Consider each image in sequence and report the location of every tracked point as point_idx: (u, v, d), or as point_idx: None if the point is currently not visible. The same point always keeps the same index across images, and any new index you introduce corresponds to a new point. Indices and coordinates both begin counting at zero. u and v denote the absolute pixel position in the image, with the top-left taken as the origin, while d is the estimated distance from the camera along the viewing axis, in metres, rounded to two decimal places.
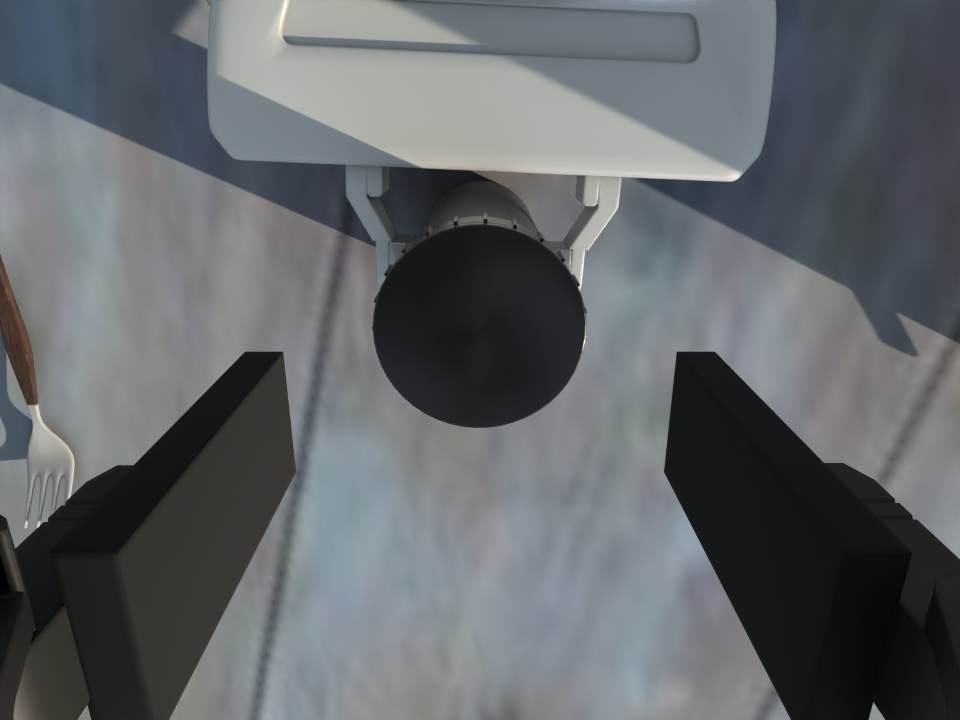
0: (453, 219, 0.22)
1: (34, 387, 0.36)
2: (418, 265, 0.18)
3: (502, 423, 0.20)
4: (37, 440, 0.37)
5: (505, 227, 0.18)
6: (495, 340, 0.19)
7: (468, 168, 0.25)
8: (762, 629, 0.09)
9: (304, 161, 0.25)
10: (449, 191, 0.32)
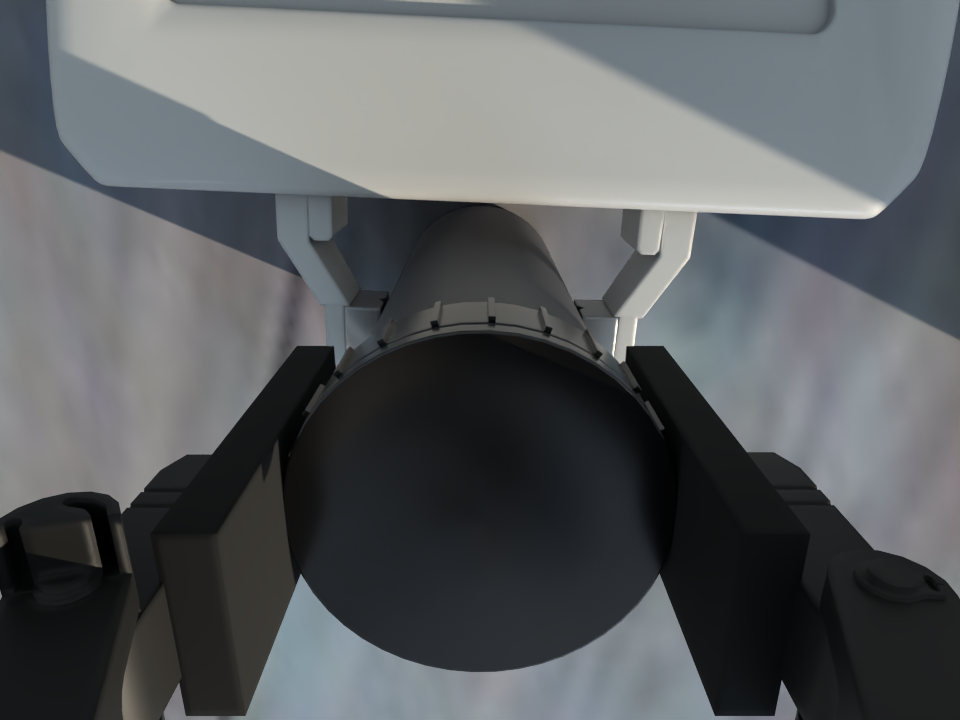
0: (436, 291, 0.13)
1: None
2: (363, 405, 0.10)
3: (520, 665, 0.11)
4: None
5: (530, 335, 0.09)
6: (509, 533, 0.10)
7: (463, 199, 0.16)
8: (687, 613, 0.10)
9: (208, 188, 0.16)
10: (438, 221, 0.23)
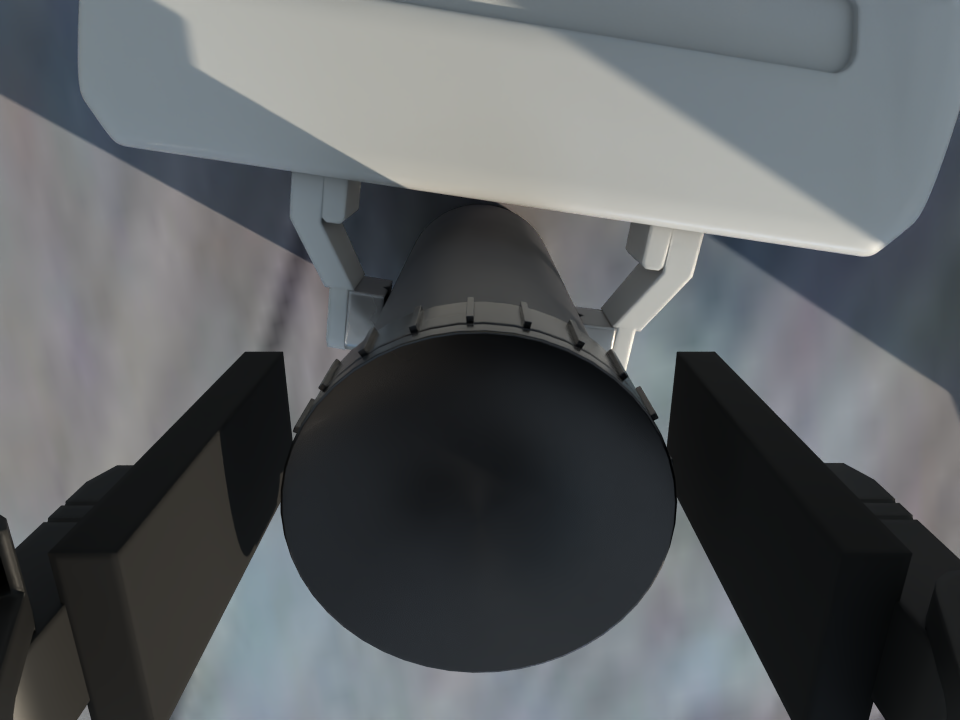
0: (449, 284, 0.13)
1: None
2: (326, 565, 0.11)
3: (666, 543, 0.10)
4: None
5: (308, 413, 0.10)
6: (505, 501, 0.10)
7: (478, 197, 0.16)
8: (762, 630, 0.09)
9: (226, 159, 0.16)
10: (444, 215, 0.24)
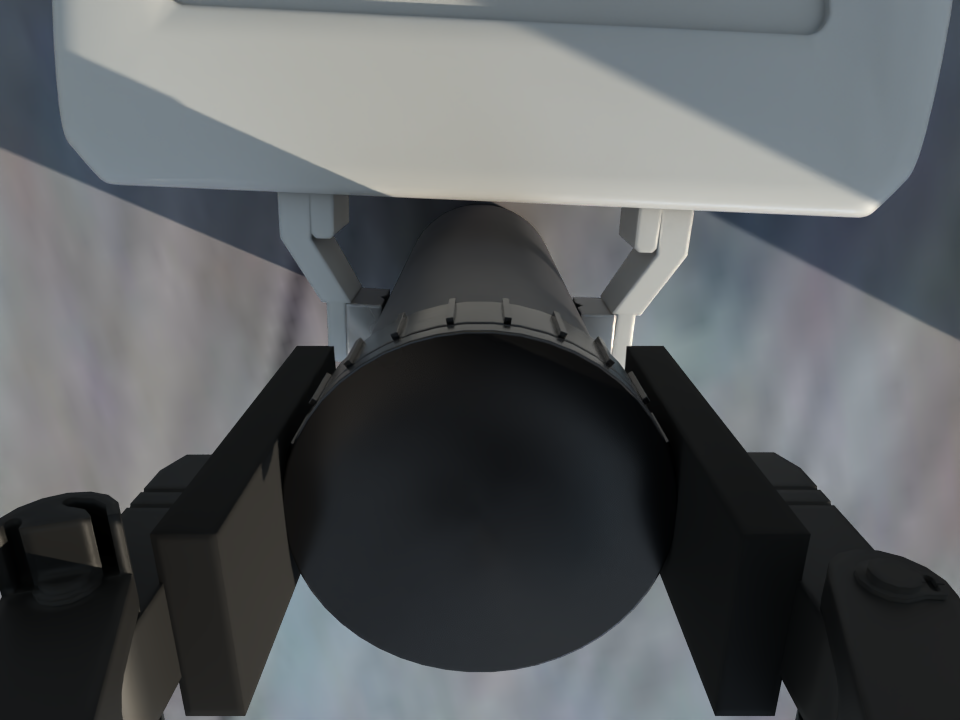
0: (437, 288, 0.13)
1: None
2: (335, 577, 0.11)
3: (671, 526, 0.10)
4: None
5: (300, 429, 0.10)
6: (504, 498, 0.10)
7: (463, 197, 0.16)
8: (687, 613, 0.10)
9: (212, 187, 0.16)
10: (439, 219, 0.24)
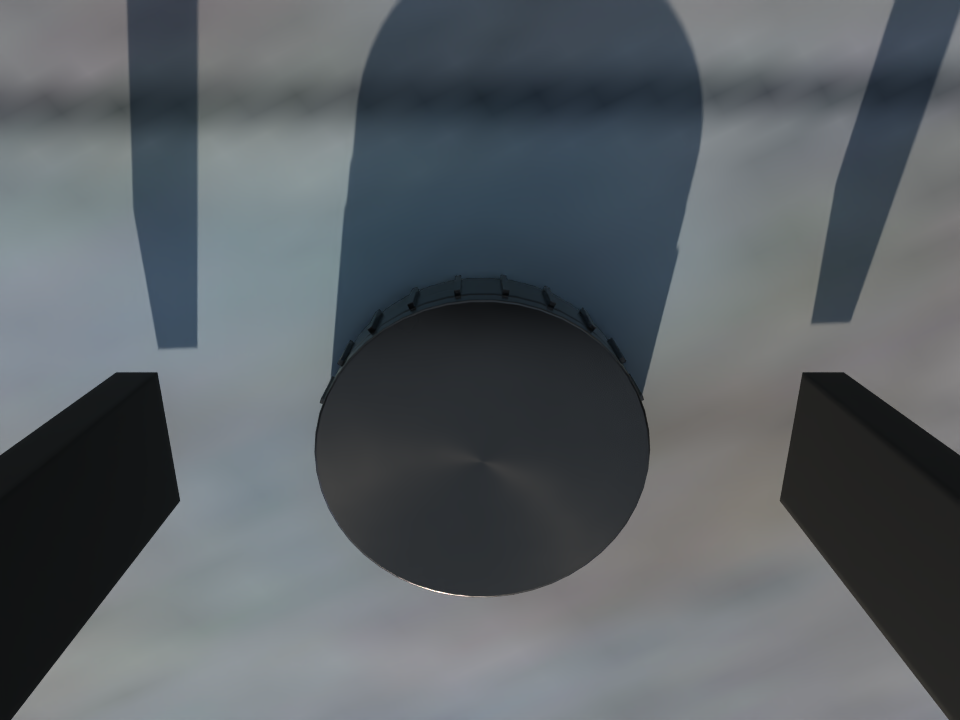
0: None
1: None
2: (359, 513, 0.12)
3: (644, 467, 0.12)
4: None
5: (331, 384, 0.12)
6: (503, 443, 0.12)
7: None
8: None
9: None
10: None
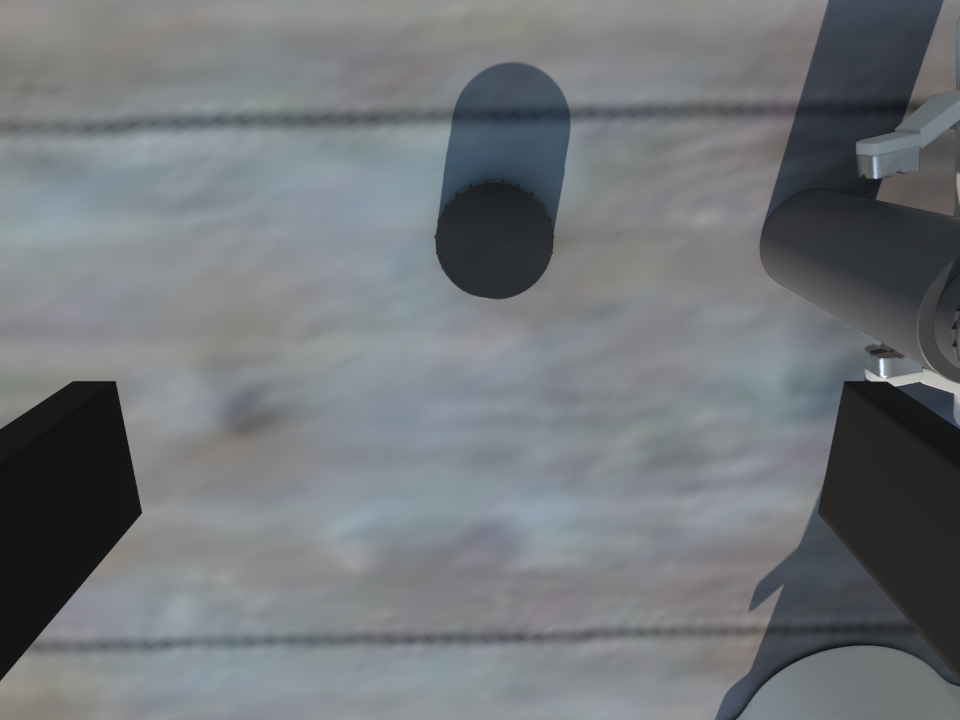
0: None
1: None
2: (450, 263, 0.35)
3: (551, 245, 0.34)
4: None
5: (443, 213, 0.34)
6: (501, 235, 0.34)
7: None
8: None
9: None
10: None
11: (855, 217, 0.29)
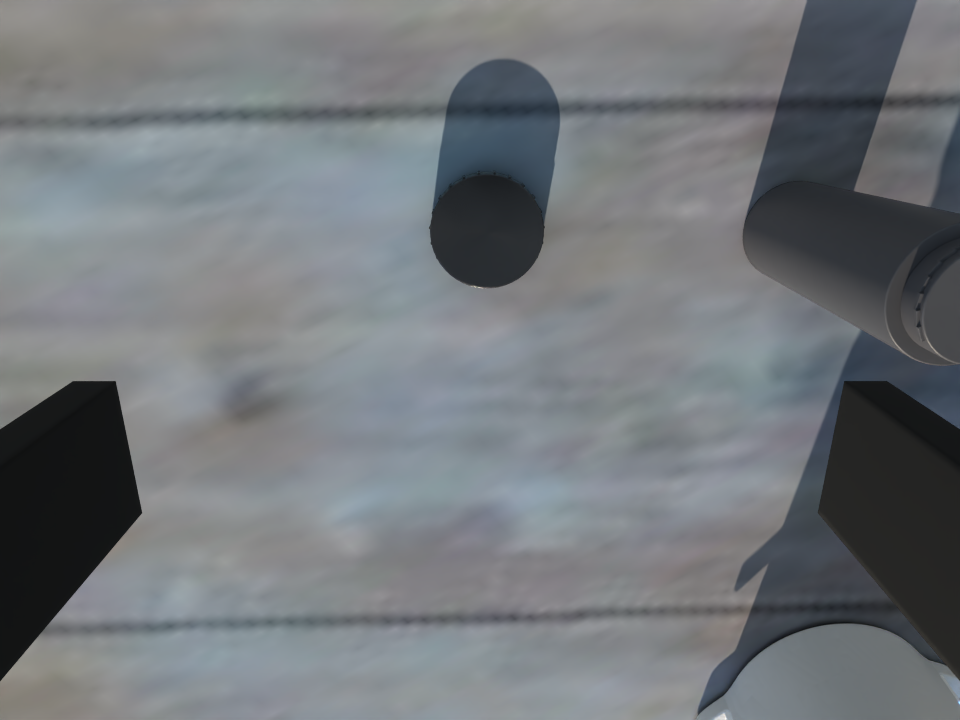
0: None
1: None
2: (444, 253, 0.36)
3: (542, 235, 0.36)
4: None
5: (437, 204, 0.35)
6: (494, 226, 0.36)
7: None
8: None
9: None
10: None
11: (831, 207, 0.30)
